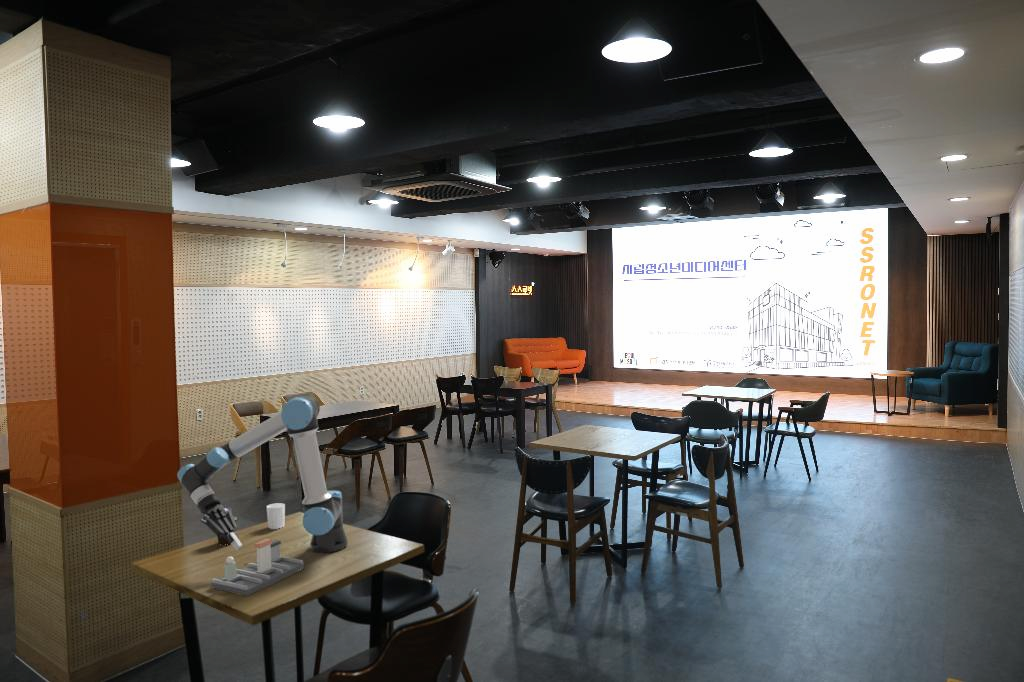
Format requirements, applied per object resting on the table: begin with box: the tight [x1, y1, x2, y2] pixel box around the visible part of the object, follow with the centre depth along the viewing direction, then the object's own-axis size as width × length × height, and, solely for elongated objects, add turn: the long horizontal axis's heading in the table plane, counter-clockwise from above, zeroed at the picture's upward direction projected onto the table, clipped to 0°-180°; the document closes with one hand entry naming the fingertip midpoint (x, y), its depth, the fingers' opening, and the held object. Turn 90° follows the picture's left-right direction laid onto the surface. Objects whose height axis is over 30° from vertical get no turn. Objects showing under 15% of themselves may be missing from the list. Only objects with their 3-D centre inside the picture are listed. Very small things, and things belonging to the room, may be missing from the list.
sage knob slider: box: [221, 555, 241, 582], centre depth 246 cm, size 4×5×8 cm
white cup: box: [266, 502, 286, 530], centre depth 314 cm, size 8×8×10 cm
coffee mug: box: [216, 516, 237, 546], centre depth 295 cm, size 12×9×10 cm
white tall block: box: [254, 538, 274, 575], centre depth 252 cm, size 4×6×12 cm
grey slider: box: [270, 539, 282, 563], centre depth 264 cm, size 4×6×7 cm
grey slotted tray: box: [210, 555, 305, 597], centre depth 254 cm, size 18×27×3 cm, turn 153°
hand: (239, 547), depth 258 cm, fingers closed
